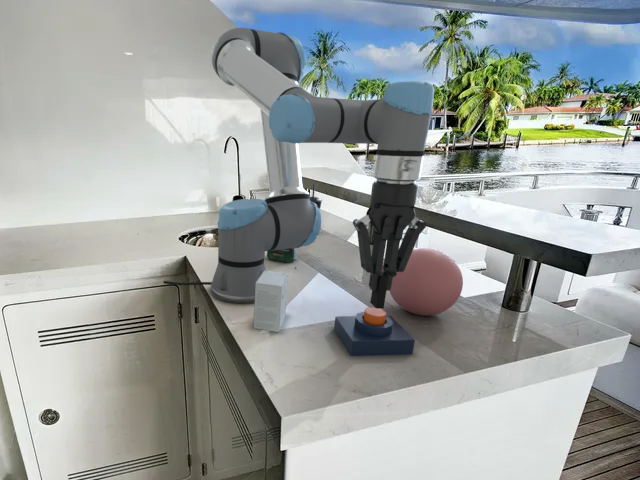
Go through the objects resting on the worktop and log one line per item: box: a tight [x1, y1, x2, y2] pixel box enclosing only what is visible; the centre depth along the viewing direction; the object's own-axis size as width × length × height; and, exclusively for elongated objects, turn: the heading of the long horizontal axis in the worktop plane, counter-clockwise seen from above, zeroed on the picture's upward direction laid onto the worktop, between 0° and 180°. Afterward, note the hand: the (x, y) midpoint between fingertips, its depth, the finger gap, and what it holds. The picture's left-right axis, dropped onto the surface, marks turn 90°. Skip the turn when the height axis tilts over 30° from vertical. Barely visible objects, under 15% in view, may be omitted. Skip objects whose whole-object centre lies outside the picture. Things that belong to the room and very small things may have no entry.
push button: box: [333, 311, 416, 357], centre depth 75 cm, size 12×10×5 cm
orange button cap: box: [363, 306, 387, 325], centre depth 74 cm, size 4×4×2 cm
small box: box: [253, 270, 289, 333], centre depth 81 cm, size 8×6×10 cm
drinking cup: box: [310, 183, 323, 210], centre depth 157 cm, size 8×8×20 cm
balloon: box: [382, 247, 464, 316], centre depth 88 cm, size 15×20×15 cm
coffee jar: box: [266, 248, 298, 263], centre depth 122 cm, size 10×8×19 cm
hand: (376, 305), depth 73 cm, fingers closed
